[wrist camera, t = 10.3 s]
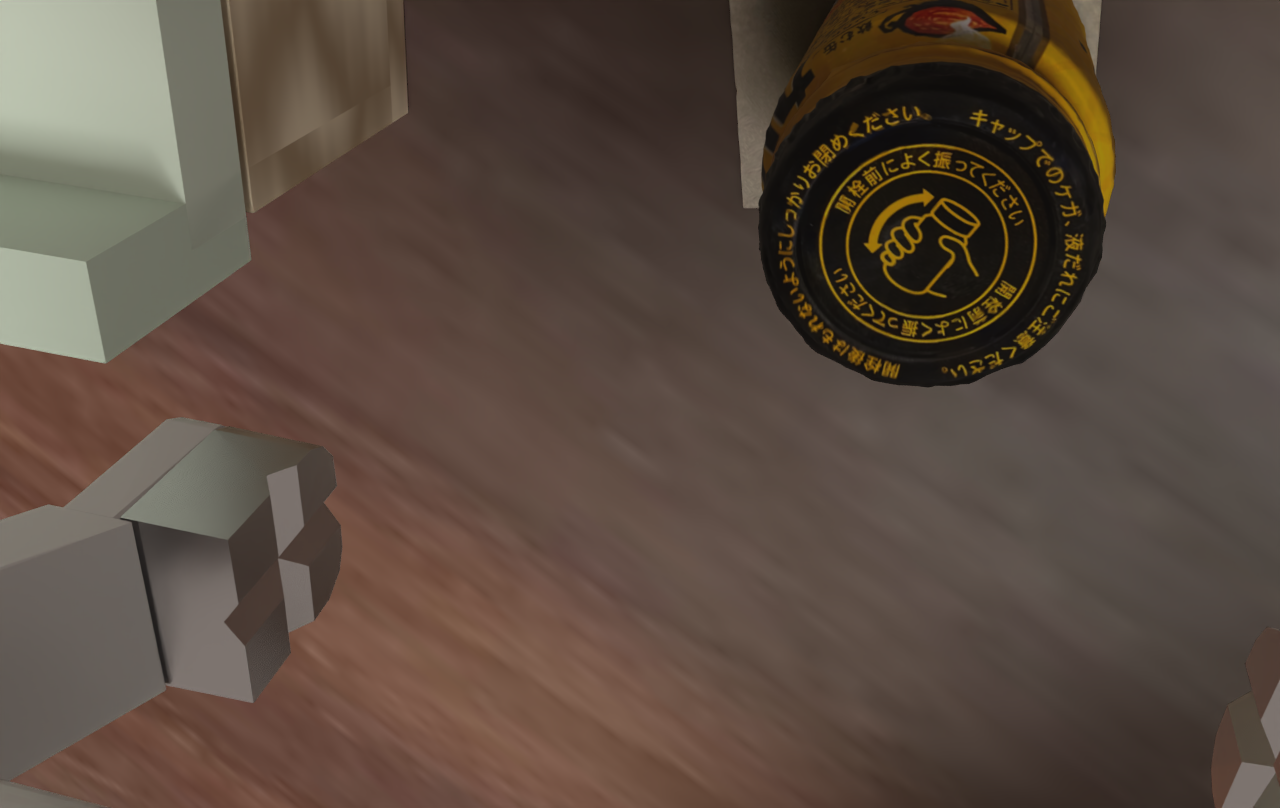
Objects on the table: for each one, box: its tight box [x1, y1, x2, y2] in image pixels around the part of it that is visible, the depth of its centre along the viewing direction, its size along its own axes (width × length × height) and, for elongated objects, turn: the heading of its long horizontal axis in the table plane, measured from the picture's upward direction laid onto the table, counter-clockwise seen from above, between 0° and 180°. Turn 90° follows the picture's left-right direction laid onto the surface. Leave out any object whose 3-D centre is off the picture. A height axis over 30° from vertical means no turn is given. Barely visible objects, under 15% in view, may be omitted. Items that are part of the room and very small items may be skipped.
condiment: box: [729, 0, 1116, 387], centre depth 23 cm, size 7×8×12 cm
